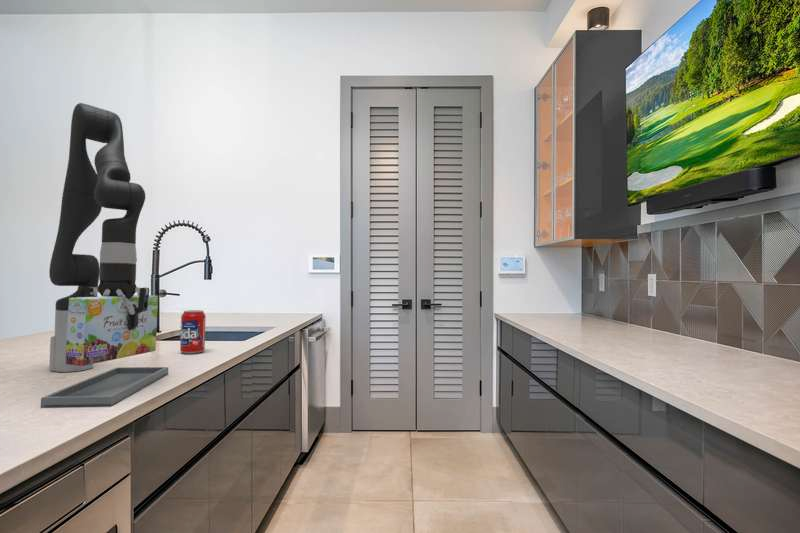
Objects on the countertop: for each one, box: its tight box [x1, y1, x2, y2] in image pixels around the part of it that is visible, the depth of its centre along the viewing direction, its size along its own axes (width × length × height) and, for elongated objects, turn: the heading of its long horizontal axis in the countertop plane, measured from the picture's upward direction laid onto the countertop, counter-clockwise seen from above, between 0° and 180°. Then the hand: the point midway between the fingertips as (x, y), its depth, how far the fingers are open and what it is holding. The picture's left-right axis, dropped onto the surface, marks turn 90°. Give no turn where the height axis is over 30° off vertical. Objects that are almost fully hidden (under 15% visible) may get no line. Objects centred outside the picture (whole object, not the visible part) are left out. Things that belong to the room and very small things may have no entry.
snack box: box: [66, 294, 159, 366], centre depth 105 cm, size 21×6×15 cm, turn 169°
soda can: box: [179, 309, 207, 355], centre depth 153 cm, size 8×8×15 cm
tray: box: [40, 366, 169, 408], centre depth 105 cm, size 14×30×2 cm, turn 7°
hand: (116, 329), depth 105 cm, fingers closed on snack box, 6 cm apart
